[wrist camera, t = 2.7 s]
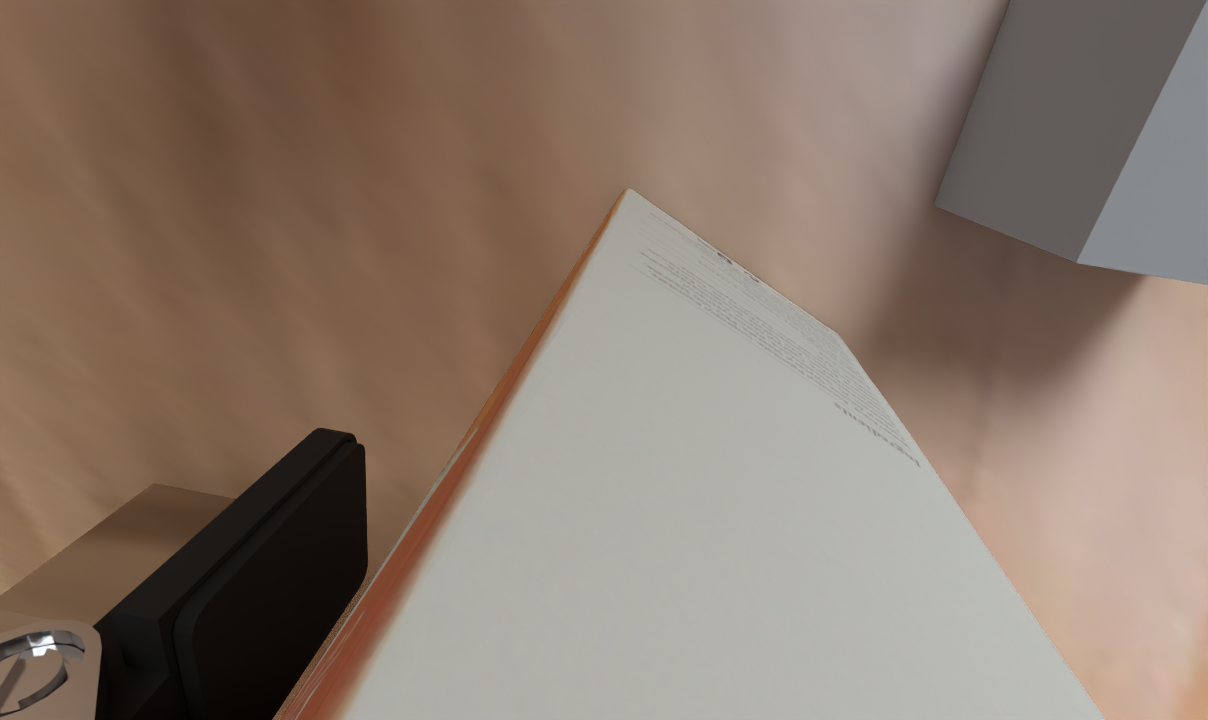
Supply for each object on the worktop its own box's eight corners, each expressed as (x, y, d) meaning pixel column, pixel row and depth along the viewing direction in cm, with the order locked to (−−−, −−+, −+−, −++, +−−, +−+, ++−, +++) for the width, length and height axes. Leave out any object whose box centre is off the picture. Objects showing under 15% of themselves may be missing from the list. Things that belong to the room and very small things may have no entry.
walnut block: (155, 482, 18) (-14, 606, 14) (306, 511, 18) (184, 647, 14) (180, 596, 21) (40, 737, 16) (316, 623, 20) (214, 774, 16)
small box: (625, 179, 13) (158, 927, 1) (844, 332, 14) (1805, 1632, 2) (464, 430, 16) (-97, 1307, 4) (650, 542, 17) (598, 1522, 5)
